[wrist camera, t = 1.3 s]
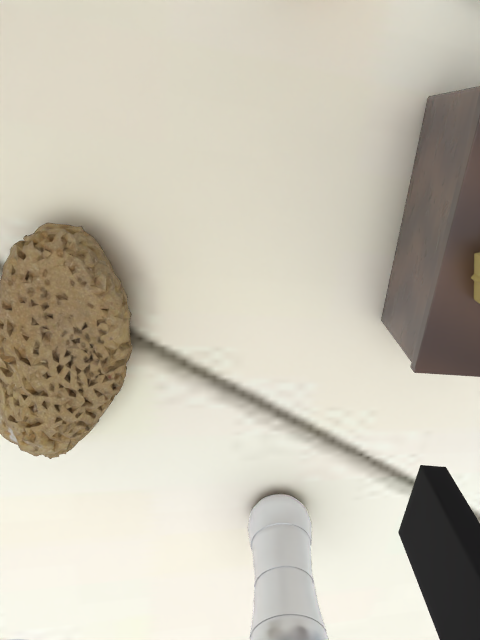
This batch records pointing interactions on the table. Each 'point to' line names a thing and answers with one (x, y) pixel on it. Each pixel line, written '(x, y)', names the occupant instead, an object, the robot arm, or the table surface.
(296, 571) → the plastic bottle
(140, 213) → the table surface
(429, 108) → the cabinet
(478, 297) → the paper ball yellow
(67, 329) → the sponge
